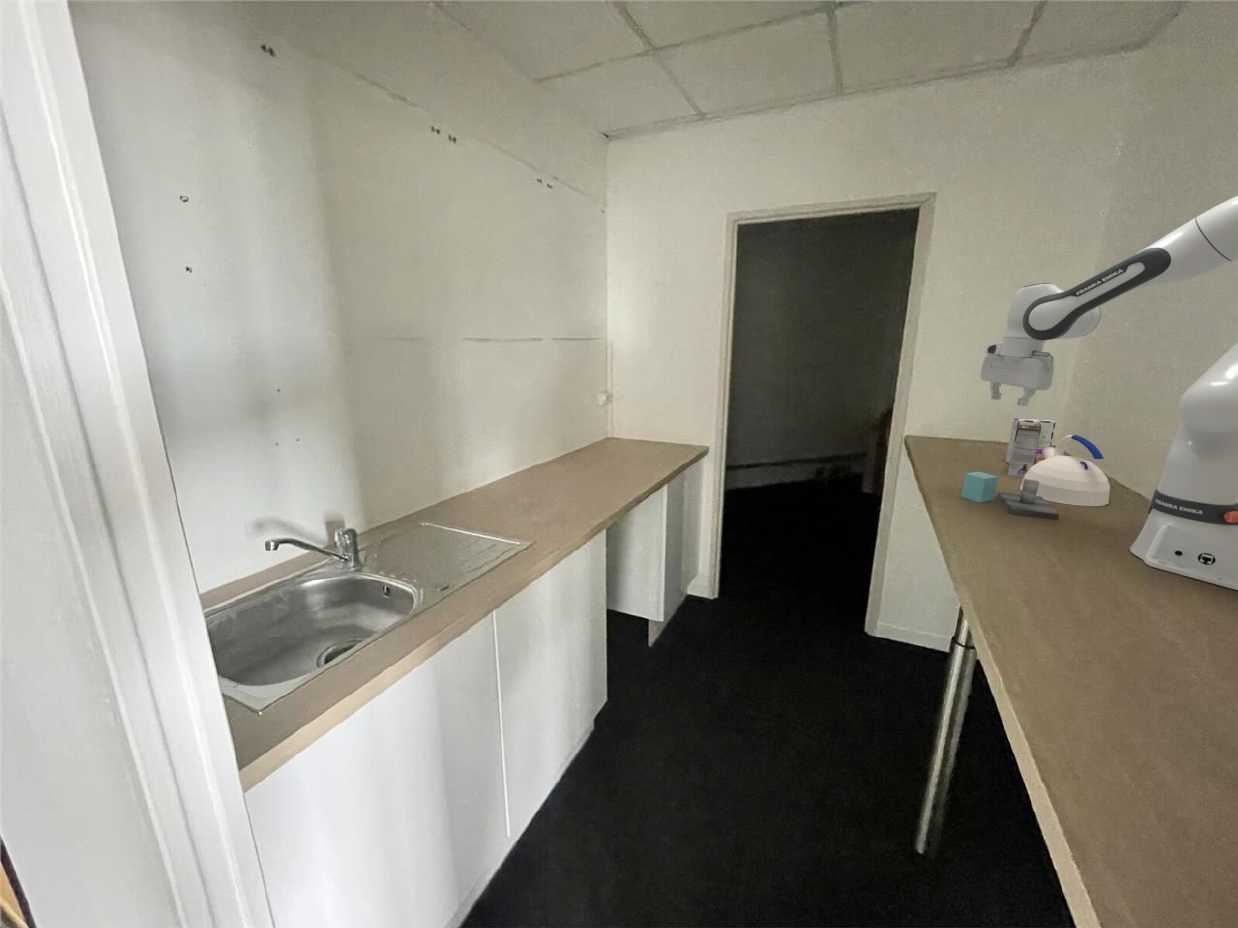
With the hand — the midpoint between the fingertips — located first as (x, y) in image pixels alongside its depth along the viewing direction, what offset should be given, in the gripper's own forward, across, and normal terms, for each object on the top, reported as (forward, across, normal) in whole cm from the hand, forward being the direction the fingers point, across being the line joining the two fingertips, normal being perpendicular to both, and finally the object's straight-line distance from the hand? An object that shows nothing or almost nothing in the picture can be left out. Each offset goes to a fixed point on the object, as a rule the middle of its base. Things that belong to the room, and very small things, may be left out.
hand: (1008, 402), depth 139 cm
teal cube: (+28, +2, +1) cm, 28 cm away
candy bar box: (+29, +38, -44) cm, 65 cm away
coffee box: (+28, +26, -32) cm, 50 cm away
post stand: (+28, -6, -7) cm, 29 cm away
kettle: (+28, +4, -27) cm, 39 cm away
